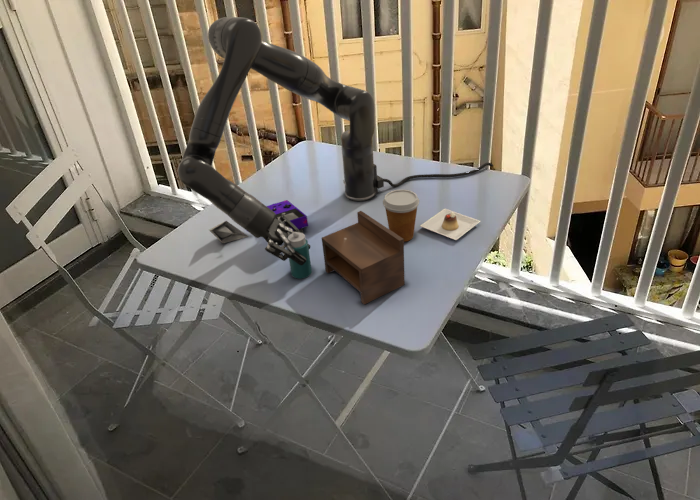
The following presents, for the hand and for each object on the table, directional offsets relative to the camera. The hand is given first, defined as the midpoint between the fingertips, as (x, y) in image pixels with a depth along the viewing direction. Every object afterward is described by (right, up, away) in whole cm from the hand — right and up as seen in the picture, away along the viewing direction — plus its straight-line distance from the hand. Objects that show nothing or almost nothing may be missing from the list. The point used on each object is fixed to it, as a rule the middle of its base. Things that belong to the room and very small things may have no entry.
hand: (306, 255), depth 139 cm
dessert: (+39, +8, +16) cm, 42 cm away
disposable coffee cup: (+25, +5, +14) cm, 29 cm away
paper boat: (-23, +4, +18) cm, 30 cm away
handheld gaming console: (-8, +9, +24) cm, 27 cm away
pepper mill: (-1, -4, +3) cm, 6 cm away
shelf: (+14, -5, -1) cm, 15 cm away
